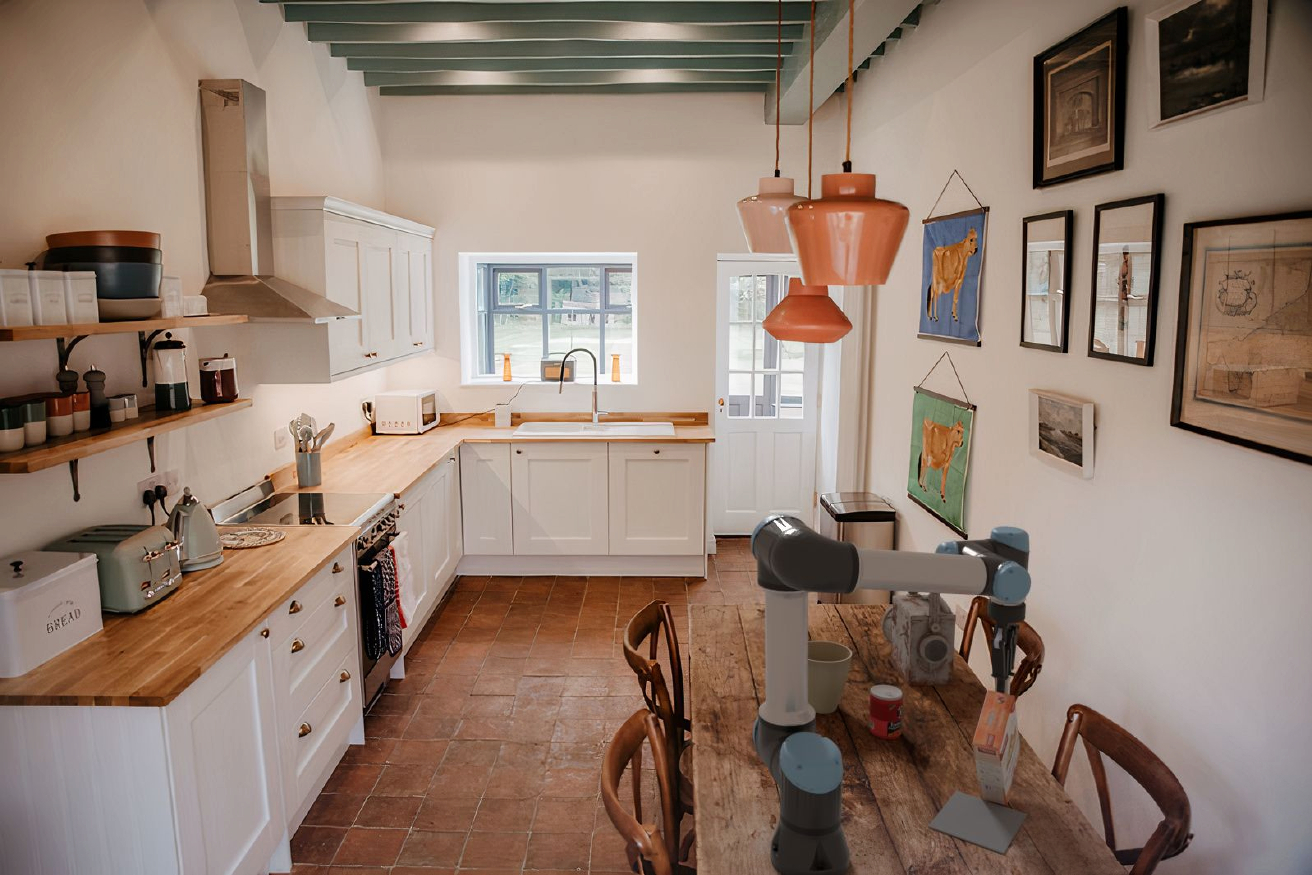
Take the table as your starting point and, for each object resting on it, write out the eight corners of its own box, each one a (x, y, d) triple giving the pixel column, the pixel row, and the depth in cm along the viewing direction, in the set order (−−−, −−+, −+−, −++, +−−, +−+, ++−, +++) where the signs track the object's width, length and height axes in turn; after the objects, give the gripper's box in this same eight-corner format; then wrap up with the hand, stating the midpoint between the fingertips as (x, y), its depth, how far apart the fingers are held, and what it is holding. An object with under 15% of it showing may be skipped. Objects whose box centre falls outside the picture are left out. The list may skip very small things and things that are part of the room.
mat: (1003, 854, 171) (1003, 852, 171) (928, 827, 180) (928, 825, 180) (1027, 815, 184) (1027, 814, 184) (956, 791, 193) (956, 790, 193)
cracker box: (1009, 807, 187) (1000, 751, 175) (979, 799, 190) (969, 743, 179) (1023, 751, 196) (1015, 694, 184) (994, 744, 199) (986, 687, 187)
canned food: (892, 743, 215) (893, 700, 213) (863, 732, 220) (864, 691, 219) (907, 731, 220) (908, 690, 219) (878, 722, 226) (879, 681, 224)
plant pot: (852, 722, 226) (853, 663, 223) (793, 718, 228) (794, 660, 226) (849, 697, 240) (850, 641, 238) (794, 693, 243) (795, 638, 240)
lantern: (928, 651, 271) (931, 557, 266) (961, 689, 244) (965, 585, 240) (877, 652, 270) (880, 558, 266) (905, 691, 244) (908, 587, 239)
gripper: (1016, 612, 178) (1010, 721, 182) (1033, 595, 188) (1028, 698, 192) (979, 605, 183) (974, 711, 186) (997, 588, 193) (992, 690, 196)
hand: (1001, 705), depth 189 cm, fingers closed
